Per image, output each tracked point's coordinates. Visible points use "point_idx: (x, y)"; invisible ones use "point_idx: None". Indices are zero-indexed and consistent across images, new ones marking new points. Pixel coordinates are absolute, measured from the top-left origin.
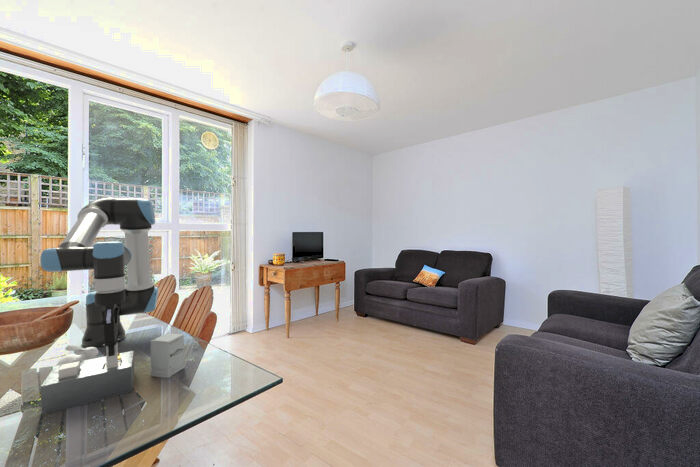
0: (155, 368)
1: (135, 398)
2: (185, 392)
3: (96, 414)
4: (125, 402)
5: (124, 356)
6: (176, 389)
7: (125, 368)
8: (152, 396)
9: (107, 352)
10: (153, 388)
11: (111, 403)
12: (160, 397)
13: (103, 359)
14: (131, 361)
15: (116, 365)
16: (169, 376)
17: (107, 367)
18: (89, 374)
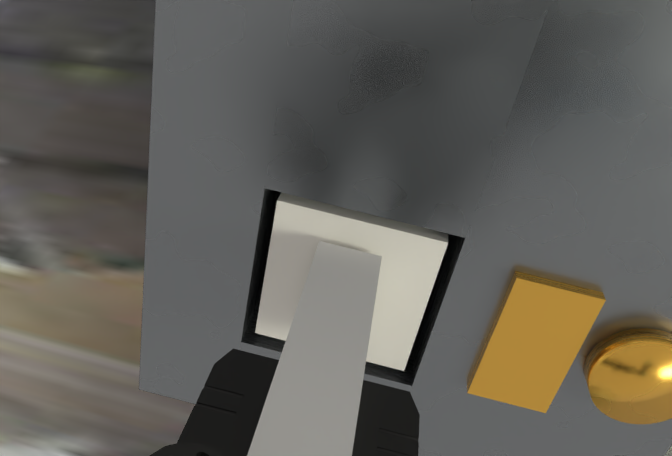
0: None
1: (105, 240)
2: (14, 422)
3: (17, 9)
4: (85, 185)
5: (511, 423)
6: (78, 409)
7: (141, 348)
8: (69, 310)
9: (273, 385)
10: None
11: (129, 115)
12: (30, 333)
13: (654, 258)
14: None
15: (294, 314)
16: None
17: (305, 241)
18: (200, 52)
